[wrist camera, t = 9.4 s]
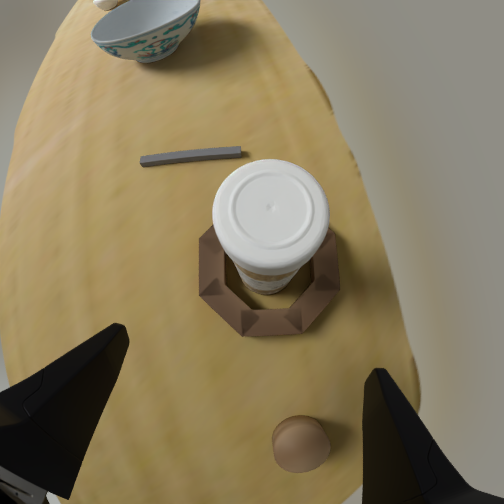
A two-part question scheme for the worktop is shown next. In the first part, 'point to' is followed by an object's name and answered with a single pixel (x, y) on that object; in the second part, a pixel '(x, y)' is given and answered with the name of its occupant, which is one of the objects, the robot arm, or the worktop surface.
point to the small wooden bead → (300, 444)
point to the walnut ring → (270, 319)
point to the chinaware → (145, 28)
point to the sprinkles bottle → (270, 221)
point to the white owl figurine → (105, 4)
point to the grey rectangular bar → (191, 156)
